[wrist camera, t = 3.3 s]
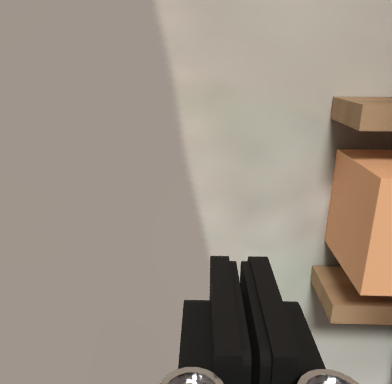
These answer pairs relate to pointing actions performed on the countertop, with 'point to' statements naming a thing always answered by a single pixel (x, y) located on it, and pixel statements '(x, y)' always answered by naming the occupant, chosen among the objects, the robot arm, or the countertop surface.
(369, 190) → the block
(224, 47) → the countertop surface
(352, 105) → the trap channel
